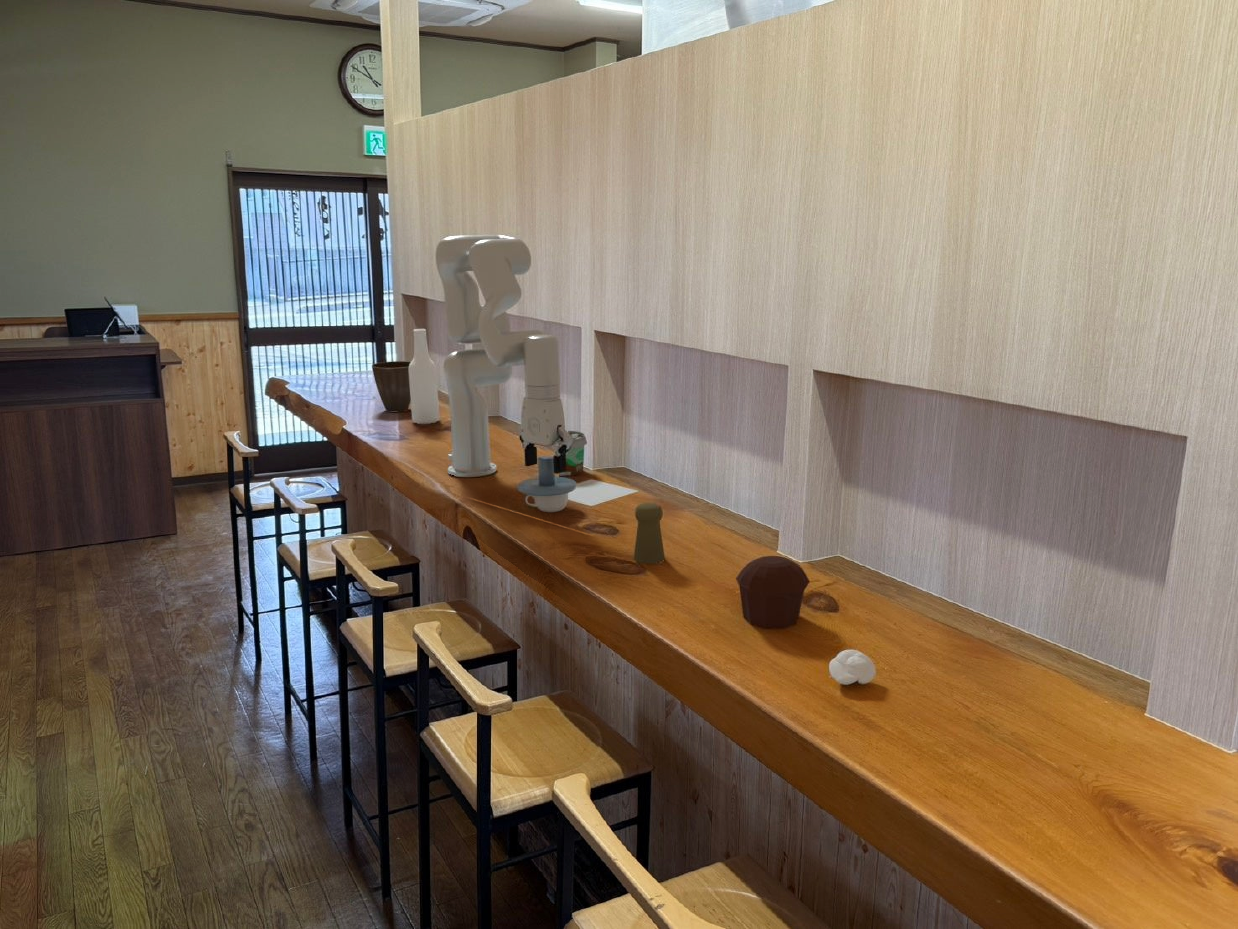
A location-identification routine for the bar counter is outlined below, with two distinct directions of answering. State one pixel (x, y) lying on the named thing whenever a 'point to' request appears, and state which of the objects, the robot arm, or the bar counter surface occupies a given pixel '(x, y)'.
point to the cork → (649, 534)
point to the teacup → (549, 502)
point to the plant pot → (393, 384)
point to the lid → (546, 481)
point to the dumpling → (852, 668)
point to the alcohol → (423, 382)
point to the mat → (597, 492)
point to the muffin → (772, 591)
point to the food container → (575, 455)
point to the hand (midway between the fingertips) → (545, 468)
